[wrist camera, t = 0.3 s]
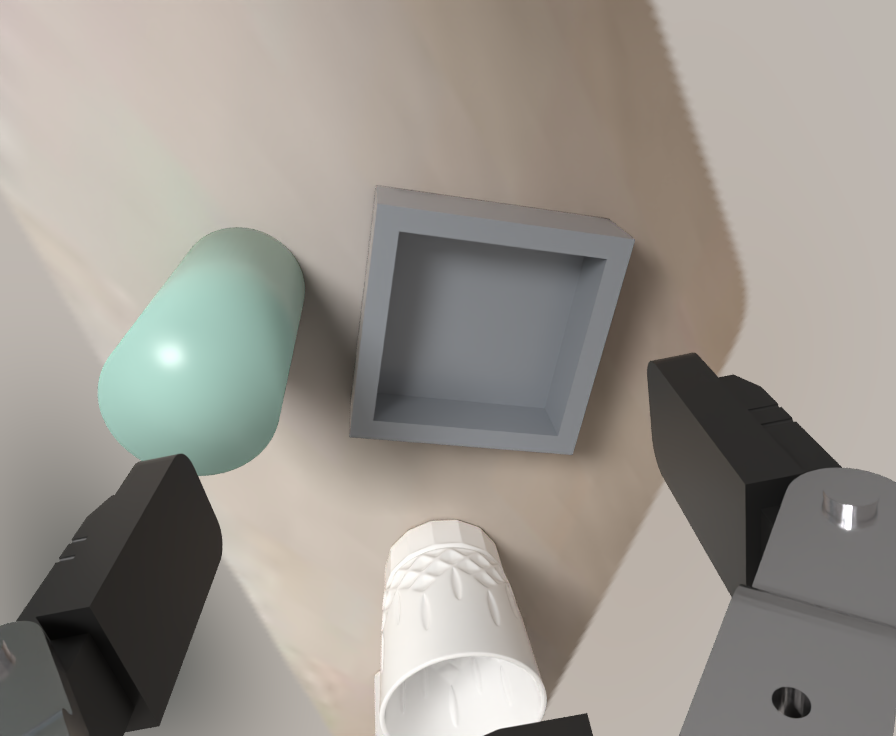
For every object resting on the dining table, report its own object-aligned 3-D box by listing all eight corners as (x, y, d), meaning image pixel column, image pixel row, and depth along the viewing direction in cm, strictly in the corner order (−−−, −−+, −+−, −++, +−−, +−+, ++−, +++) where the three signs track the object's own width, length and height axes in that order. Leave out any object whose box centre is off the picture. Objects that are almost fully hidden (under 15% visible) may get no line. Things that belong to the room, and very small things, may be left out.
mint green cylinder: (180, 219, 30) (92, 314, 20) (309, 236, 31) (285, 334, 21) (180, 335, 32) (102, 469, 23) (300, 347, 33) (275, 481, 24)
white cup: (531, 534, 40) (578, 678, 31) (468, 624, 43) (495, 780, 34) (412, 492, 38) (427, 634, 29) (353, 590, 41) (351, 747, 32)
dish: (375, 185, 30) (377, 203, 27) (608, 218, 32) (635, 239, 29) (350, 400, 35) (349, 437, 32) (554, 418, 37) (572, 454, 34)
